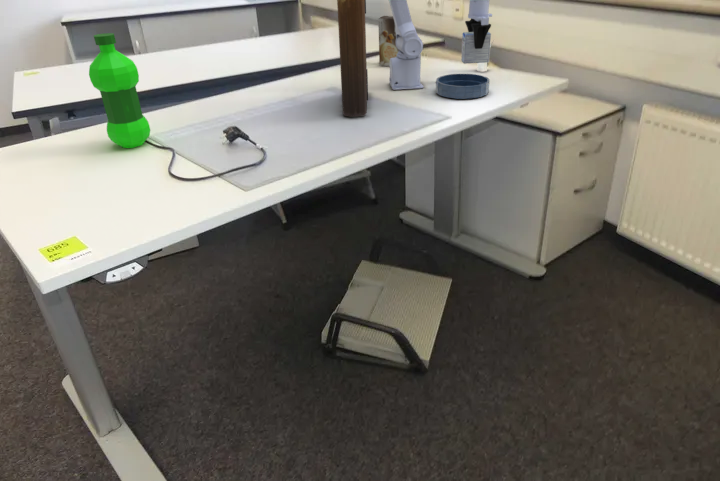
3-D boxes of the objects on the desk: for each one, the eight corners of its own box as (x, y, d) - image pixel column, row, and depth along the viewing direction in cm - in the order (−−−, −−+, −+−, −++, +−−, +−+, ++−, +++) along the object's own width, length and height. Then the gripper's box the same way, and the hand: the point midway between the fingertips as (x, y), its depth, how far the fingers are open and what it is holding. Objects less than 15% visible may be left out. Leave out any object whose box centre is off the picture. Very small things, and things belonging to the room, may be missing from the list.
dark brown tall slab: (344, 94, 161) (339, -16, 146) (368, 93, 161) (365, -17, 146) (341, 118, 141) (334, -7, 126) (368, 117, 141) (365, -8, 126)
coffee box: (408, 63, 195) (408, 15, 186) (402, 67, 189) (403, 18, 181) (384, 62, 198) (384, 15, 190) (378, 65, 193) (377, 17, 184)
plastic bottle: (111, 155, 123) (78, 41, 111) (109, 141, 132) (79, 33, 119) (156, 147, 127) (129, 35, 114) (152, 134, 135) (127, 29, 122)
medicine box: (486, 60, 168) (488, 30, 164) (489, 62, 165) (491, 32, 160) (460, 61, 168) (462, 32, 164) (463, 64, 165) (465, 34, 160)
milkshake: (491, 72, 178) (494, 40, 173) (475, 72, 179) (477, 40, 174) (491, 69, 182) (494, 38, 177) (475, 69, 183) (477, 38, 178)
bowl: (442, 101, 151) (443, 88, 149) (431, 87, 164) (431, 75, 162) (495, 98, 152) (496, 84, 150) (479, 84, 165) (480, 72, 163)
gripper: (500, 0, 151) (496, 50, 158) (485, -5, 164) (482, 41, 171) (476, 1, 151) (472, 51, 158) (463, -4, 163) (460, 42, 170)
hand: (476, 46), depth 164 cm, fingers closed on medicine box, 4 cm apart
